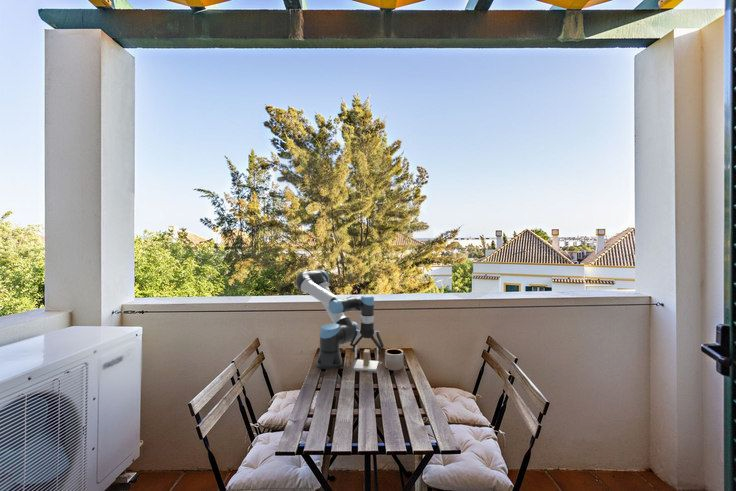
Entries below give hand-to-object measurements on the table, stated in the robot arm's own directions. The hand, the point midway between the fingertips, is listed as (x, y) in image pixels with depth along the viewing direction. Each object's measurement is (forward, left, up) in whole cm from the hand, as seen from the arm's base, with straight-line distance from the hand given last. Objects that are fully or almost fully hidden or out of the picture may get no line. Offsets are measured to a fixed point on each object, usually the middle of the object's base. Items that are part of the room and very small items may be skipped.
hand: (366, 358), depth 217 cm
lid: (0, 0, -5) cm, 5 cm away
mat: (0, 0, -5) cm, 5 cm away
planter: (+16, +2, -5) cm, 17 cm away
